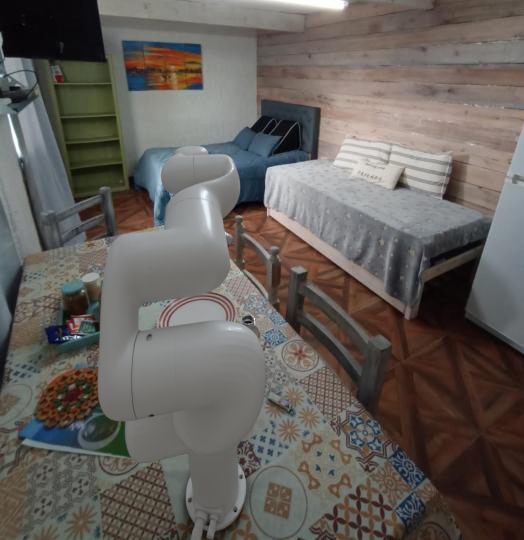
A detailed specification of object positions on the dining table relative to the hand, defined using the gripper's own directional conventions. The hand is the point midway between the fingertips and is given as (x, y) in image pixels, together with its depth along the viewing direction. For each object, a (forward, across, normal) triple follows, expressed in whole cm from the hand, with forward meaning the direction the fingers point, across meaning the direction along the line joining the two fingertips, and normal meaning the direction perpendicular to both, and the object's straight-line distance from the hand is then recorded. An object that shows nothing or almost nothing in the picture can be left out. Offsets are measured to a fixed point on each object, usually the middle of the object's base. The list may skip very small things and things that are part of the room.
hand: (200, 264), depth 78 cm
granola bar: (+38, +21, -5) cm, 44 cm away
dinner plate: (+38, -10, +19) cm, 44 cm away
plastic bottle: (+38, +12, +2) cm, 40 cm away
